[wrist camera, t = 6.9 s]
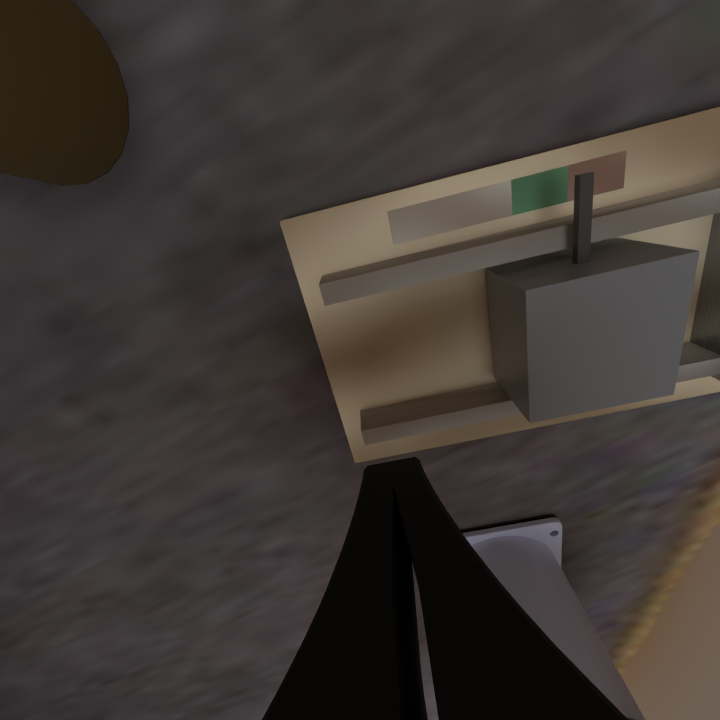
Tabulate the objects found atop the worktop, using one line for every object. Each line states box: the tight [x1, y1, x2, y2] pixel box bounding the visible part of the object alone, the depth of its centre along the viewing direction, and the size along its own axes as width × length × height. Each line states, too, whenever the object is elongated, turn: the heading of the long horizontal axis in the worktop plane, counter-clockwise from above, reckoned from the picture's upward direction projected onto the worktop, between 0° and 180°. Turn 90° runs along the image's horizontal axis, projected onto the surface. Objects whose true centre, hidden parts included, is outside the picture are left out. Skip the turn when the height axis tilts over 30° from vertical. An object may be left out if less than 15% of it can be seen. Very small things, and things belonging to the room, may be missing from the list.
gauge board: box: [279, 106, 720, 463], centre depth 15 cm, size 12×19×3 cm, turn 103°
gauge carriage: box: [486, 172, 700, 423], centre depth 12 cm, size 8×5×4 cm, turn 13°
